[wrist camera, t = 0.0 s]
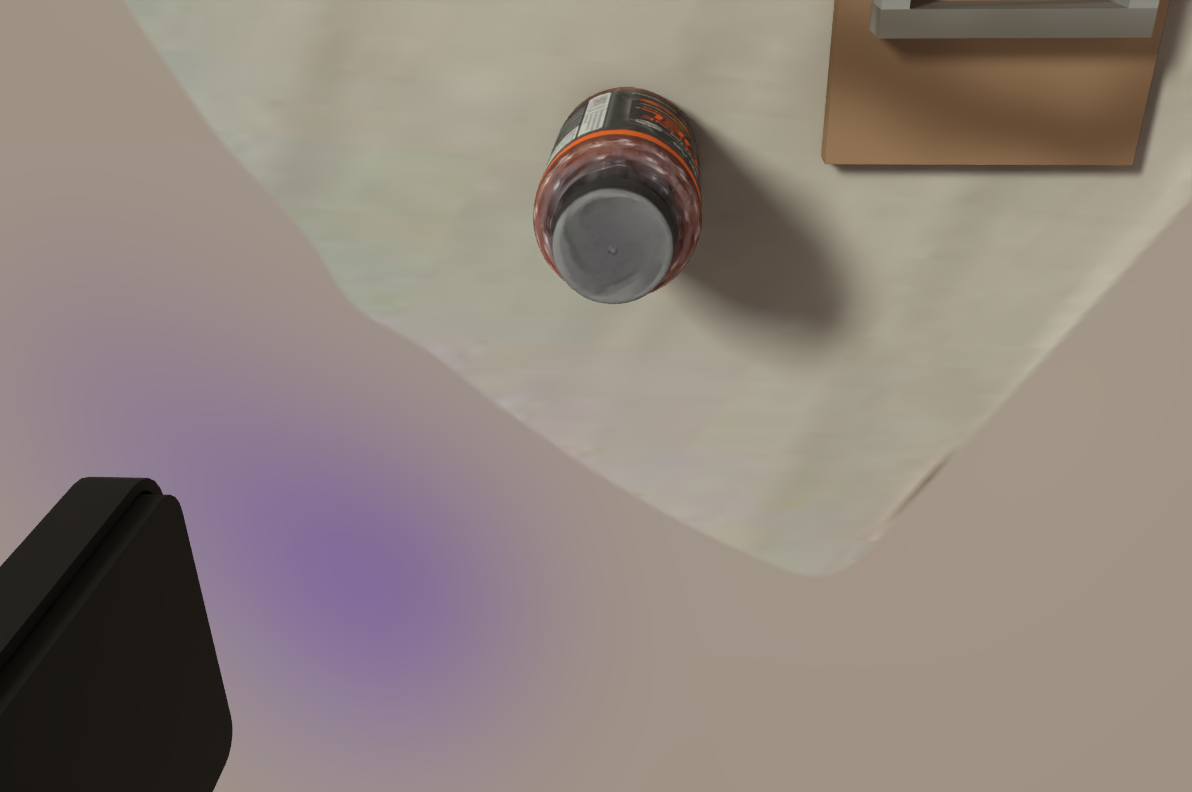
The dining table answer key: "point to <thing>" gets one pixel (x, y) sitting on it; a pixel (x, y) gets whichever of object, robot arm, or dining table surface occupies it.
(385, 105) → the dining table surface
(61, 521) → the robot arm
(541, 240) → the supplement bottle
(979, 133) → the cap board
